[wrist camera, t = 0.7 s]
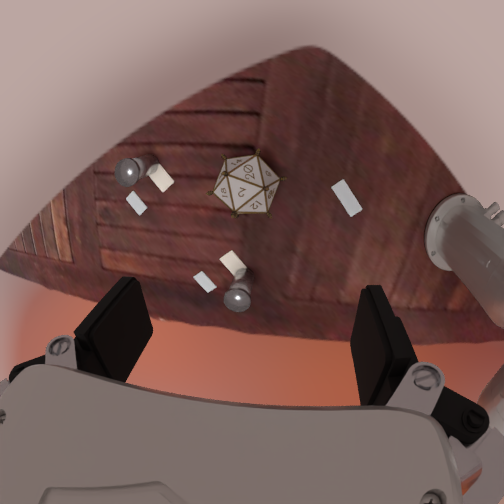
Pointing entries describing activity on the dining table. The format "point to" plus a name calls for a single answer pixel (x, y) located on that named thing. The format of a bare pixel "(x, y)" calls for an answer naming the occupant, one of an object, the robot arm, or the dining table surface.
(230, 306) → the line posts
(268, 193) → the game die
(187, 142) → the dining table surface
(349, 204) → the distance lines
